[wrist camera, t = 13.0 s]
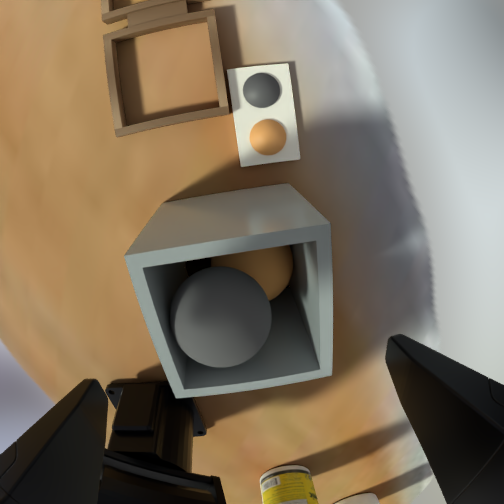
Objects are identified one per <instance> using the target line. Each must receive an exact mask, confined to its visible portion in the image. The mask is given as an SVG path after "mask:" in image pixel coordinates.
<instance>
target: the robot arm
mask: <svg viewBox="0 0 504 504" xmlns="http://www.w3.org/2000/svg"><path fill="white" fill-rule="evenodd" d="M385 360H386V364H387V367H388V370H389V372H390V375H391V378H392V380H393V383H394V386H395V389H396V392H397V394H398V397H399V400H400V402H401V405H402V407H403V409H404V411H405V413H406V415H407V417H408V419H409V421H410V423H411V425H412V427H413V429H414V431H415V434H416V436H417V438H418V440H419V442H420V444H421V446H422V448H423V451H424V453H425V455H426V457H427V459H428V461H429V464H430V466H431V468H432V470H433V473H434V475H435V477H436V479H437V482H438V484H439V486H440V488H441V491H442V493H443V496H444V498H445V500H446V503H447V504H504V385H503V384H500V383H498V382H496V381H494V380H493V379H490V378H489V379H488V377H486V376H484V375H482V374H480V373H478V372H476V371H474V370H472V369H470V368H468V367H466V366H464V365H462V364H460V363H458V362H456V361H454V360H452V359H450V358H448V357H446V356H445V355H443V354H441V353H439V352H437V351H435V350H433V349H431V348H429V347H427V346H425V345H423V344H421V343H419V342H417V341H415V340H413V339H411V338H409V337H407V336H405V335H403V334H398V335H394V336H391V337H389V339H388V343H387V350H386V356H385ZM105 391H106V394H107V395H108V397H109V399H110V400H111V402H112V404H113V405H114V407H115V409H116V413H115V417H114V420H113V424H112V433H111V436H110V440H109V444H108V448H107V449H106V448H105V442H106V426H107V412H108V398H107V396H106V394H105V392H104V390H103V389H102V387H101V385H100V383H99V382H98V380H96V379H84V380H83V381H82V382H80V383H79V384H78V385H77V386H76V387H75V388H74V389H73V390H72V391H70V392H69V393H68V394H67V395H66V396H65V397H64V398H63V399H61V400H60V401H59V402H58V403H57V404H56V405H55V406H54V407H53V408H51V409H50V410H49V411H48V412H47V413H46V414H45V415H44V416H43V417H42V418H40V419H39V420H38V421H37V422H36V423H35V424H34V425H33V426H32V427H30V428H29V429H28V430H27V431H26V432H25V433H24V434H23V435H22V436H21V437H19V439H17V441H16V442H14V443H13V444H12V445H11V446H10V447H8V448H7V449H6V450H5V451H4V452H3V453H2V454H0V504H226V500H225V496H224V493H223V489H222V485H221V481H220V477H217V476H212V475H211V476H205V475H200V474H195V473H192V448H193V437H195V436H204V435H206V434H207V429H206V426H205V424H204V421H203V419H202V417H201V414H200V412H199V409H198V407H197V404H196V402H195V399H194V397H187V398H176V397H175V395H174V393H173V390H172V388H171V386H170V383H169V381H164V382H149V383H130V384H109V385H107V387H106V390H105Z"/></svg>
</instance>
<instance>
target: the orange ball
mask: <svg viewBox="0 0 504 504" xmlns="http://www.w3.org/2000/svg"><path fill="white" fill-rule="evenodd" d="M218 266H224V267H231V268H235V269H238V270H240V271H243V272H245V273H246V274H248V275H249V276H251V277H252V278H254V279H255V280H256V281H257V282H258V283H259V285H260V286H261V287H262V288H263V290H264V291H265V293H266V295H267V297H268V300H269V301H270V300H272V299H274V298H275V297H277V296H278V295H279V294H280V293H281V292H282V291H283V290H284V289H285V287H286V286H287V284H288V283H289V281H290V278H291V275H292V272H293V255H292V251H291V248H290V246H289V245H284V246H278V247H271V248H265V249H258V250H252V251H246V252H239V253H233V254H226V255H220V256H214V257H211V267H218Z"/></svg>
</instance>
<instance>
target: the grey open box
mask: <svg viewBox="0 0 504 504" xmlns="http://www.w3.org/2000/svg"><path fill="white" fill-rule="evenodd" d="M284 245H289V246H290V248H291V251H292V255H293V272H292V275H291V278H290V281H289V287H290V288H286V289H284V290H283V291H282V292H281V293H280V294H279V295H278V296H277V297H275V298H274V299H272V300H270V301H269V303H270V307H271V313H272V322H271V328H270V332H269V335H268V337H267V339H266V341H265V343H264V345H263V346H262V348H261V349H260V350H259V351H258V352H257V353H256V354H255V355H254V356H253V357H251V358H250V359H249V360H247V361H245V362H243V363H241V364H239V365H235V366H231V367H224V368H222V367H211V366H207V365H204V364H201V363H199V362H197V361H195V360H194V359H192V358H191V357H189V356H188V355H187V354H186V353H185V352H184V351H183V350H182V349H181V348H180V346H179V345H178V344H177V342H176V340H175V338H174V336H173V333H172V330H171V326H170V308H171V303H172V300H173V297H174V295H175V293H176V291H177V290H178V288H179V287H180V285H181V284H182V283H183V282H184V281H185V280H186V279H187V278H188V274H187V270H186V265H185V261H188V260H194V259H201V258H207V257H214V256H220V255H226V254H233V253H239V252H246V251H252V250H258V249H265V248H271V247H278V246H284ZM124 257H125V261H126V264H127V267H128V271H129V274H130V277H131V280H132V283H133V287H134V290H135V293H136V296H137V299H138V302H139V305H140V308H141V311H142V313H143V316H144V319H145V322H146V325H147V327H148V330H149V333H150V336H151V338H152V341H153V344H154V346H155V349H156V351H157V354H158V356H159V359H160V362H161V364H162V366H163V369H164V371H165V374H166V376H167V379H168V381H169V383H170V386H171V388H172V390H173V393H174V395H175V397H176V398H187V397H198V396H208V395H218V394H226V393H234V392H242V391H249V390H256V389H262V388H269V387H275V386H280V385H286V384H292V383H297V382H302V381H307V380H312V379H317V378H322V377H326V376H331V375H332V357H333V275H332V244H331V223H330V222H329V221H328V220H327V219H326V218H325V217H324V216H323V215H322V214H320V213H319V212H318V211H317V210H316V209H315V208H314V207H313V206H312V205H311V204H310V203H309V202H308V201H307V200H306V199H305V198H304V197H303V196H302V195H301V194H300V193H299V192H297V191H296V190H295V189H294V188H293V187H292V186H291V185H290V184H289V183H285V184H277V185H270V186H263V187H256V188H249V189H242V190H236V191H229V192H223V193H217V194H211V195H205V196H199V197H193V198H187V199H182V200H176V201H171V202H165V203H162V204H161V205H160V207H159V208H158V209H157V211H156V212H155V213H154V215H153V216H152V217H151V219H150V220H149V222H148V223H147V224H146V226H145V227H144V228H143V230H142V231H141V233H140V234H139V235H138V237H137V238H136V240H135V241H134V242H133V244H132V245H131V247H130V248H129V250H128V251H127V252H126V254H125V255H124Z"/></svg>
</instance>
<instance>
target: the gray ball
mask: <svg viewBox="0 0 504 504" xmlns="http://www.w3.org/2000/svg"><path fill="white" fill-rule="evenodd" d="M271 322H272V313H271V307H270V303H269V300H268V297H267V295H266V293H265V291H264V290H263V288H262V287H261V286H260V285H259V283H258V282H257V281H256V280H255V279H254V278H252V277H251V276H249V275H248V274H246V273H245V272H243V271H240V270H238V269H235V268H231V267H224V266H218V267H209V268H206V269H202V270H200V271H198V272H196V273H194V274H193V275H191V276H190V277H188V278H187V279H186V280H185V281H184V282H183V283H182V284H181V285H180V287H179V288H178V290H177V291H176V293H175V295H174V297H173V300H172V303H171V308H170V326H171V330H172V333H173V336H174V338H175V340H176V342H177V344H178V345H179V346H180V348H181V349H182V350H183V351H184V352H185V353H186V354H187V355H188V356H189V357H191V358H192V359H194V360H195V361H197V362H199V363H201V364H204V365H207V366H211V367H222V368H224V367H231V366H235V365H239V364H241V363H243V362H245V361H247V360H249V359H250V358H251V357H253V356H254V355H255V354H256V353H257V352H258V351H259V350H260V349H261V348H262V346H263V345H264V343H265V341H266V339H267V337H268V335H269V332H270V328H271Z"/></svg>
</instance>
